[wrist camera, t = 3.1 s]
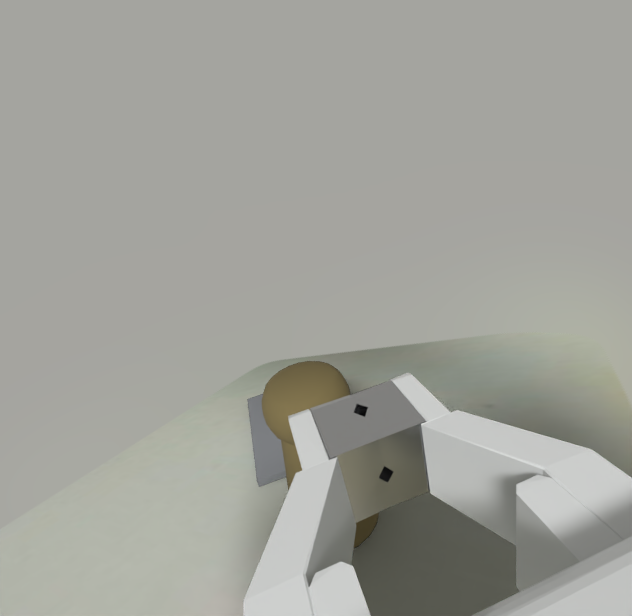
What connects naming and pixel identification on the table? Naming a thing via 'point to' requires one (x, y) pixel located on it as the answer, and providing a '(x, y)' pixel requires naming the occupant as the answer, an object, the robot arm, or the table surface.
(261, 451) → the mat
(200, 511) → the table surface
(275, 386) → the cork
